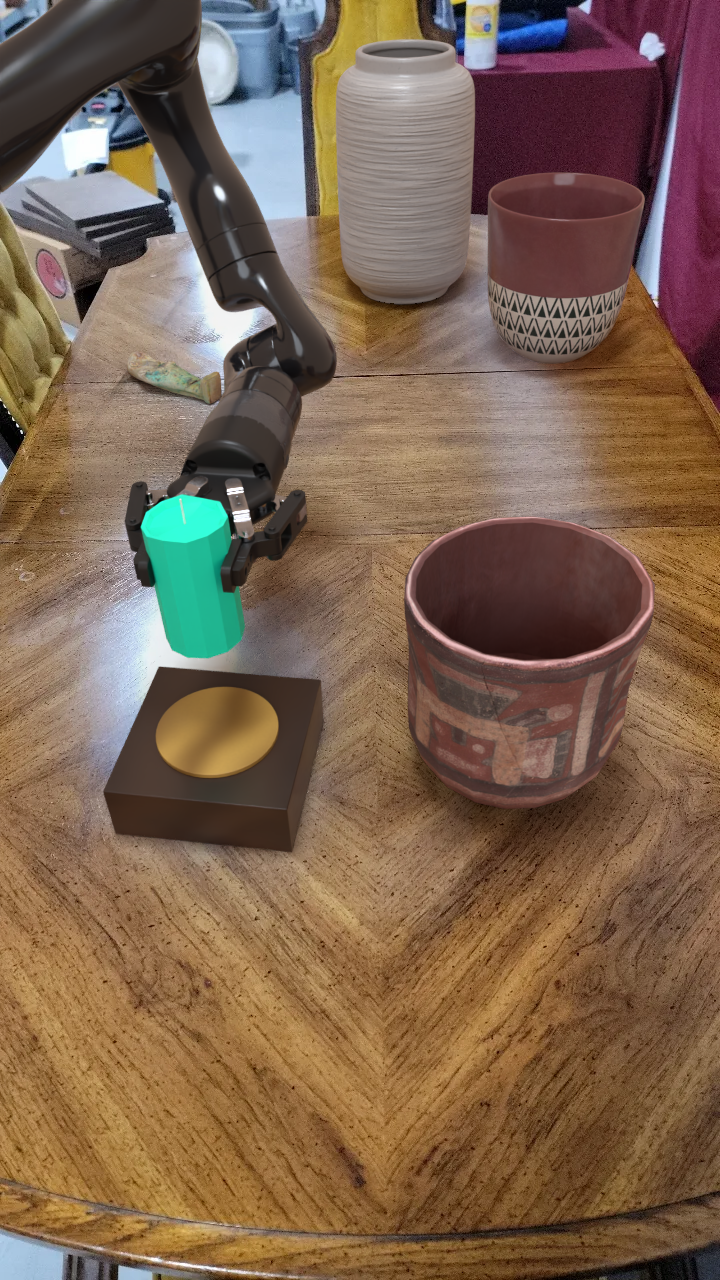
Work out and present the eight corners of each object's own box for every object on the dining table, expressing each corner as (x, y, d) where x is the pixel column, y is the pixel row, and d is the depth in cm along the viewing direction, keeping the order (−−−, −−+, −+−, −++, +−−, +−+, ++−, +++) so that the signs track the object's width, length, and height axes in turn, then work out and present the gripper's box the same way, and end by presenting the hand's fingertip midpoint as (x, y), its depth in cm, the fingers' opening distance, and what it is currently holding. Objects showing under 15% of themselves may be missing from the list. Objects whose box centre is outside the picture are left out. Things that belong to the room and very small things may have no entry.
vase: (316, 295, 158) (303, 54, 136) (386, 256, 170) (385, 30, 148) (424, 322, 149) (429, 69, 127) (490, 279, 161) (504, 42, 139)
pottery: (621, 855, 74) (663, 678, 62) (388, 826, 77) (387, 651, 65) (616, 693, 87) (650, 522, 75) (418, 672, 90) (421, 504, 78)
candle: (224, 666, 72) (199, 531, 64) (151, 649, 74) (119, 516, 66) (258, 615, 76) (239, 482, 68) (188, 600, 78) (162, 469, 70)
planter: (504, 394, 131) (517, 226, 117) (462, 334, 145) (469, 179, 131) (642, 377, 133) (671, 211, 119) (588, 320, 148) (608, 167, 134)
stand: (115, 834, 77) (101, 788, 73) (167, 707, 87) (157, 662, 84) (292, 852, 75) (286, 806, 71) (323, 721, 85) (320, 675, 82)
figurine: (194, 413, 129) (190, 386, 126) (121, 380, 136) (116, 354, 134) (225, 398, 132) (222, 371, 129) (152, 367, 140) (148, 341, 137)
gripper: (148, 409, 80) (74, 529, 67) (324, 416, 78) (282, 542, 65) (163, 488, 85) (97, 615, 72) (329, 497, 83) (291, 628, 70)
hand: (185, 579), depth 69 cm, fingers closed on candle, 5 cm apart
